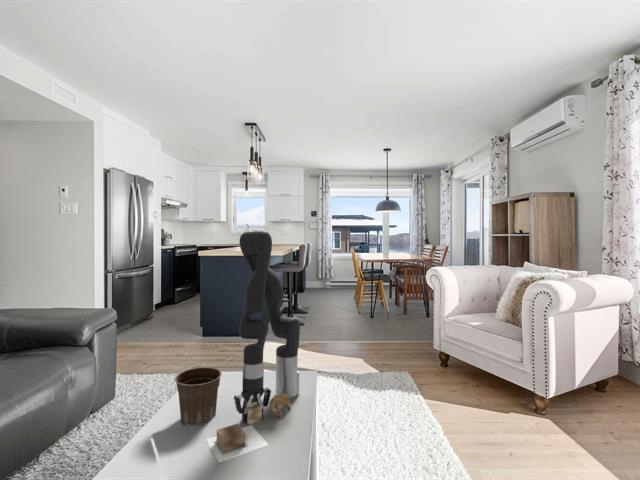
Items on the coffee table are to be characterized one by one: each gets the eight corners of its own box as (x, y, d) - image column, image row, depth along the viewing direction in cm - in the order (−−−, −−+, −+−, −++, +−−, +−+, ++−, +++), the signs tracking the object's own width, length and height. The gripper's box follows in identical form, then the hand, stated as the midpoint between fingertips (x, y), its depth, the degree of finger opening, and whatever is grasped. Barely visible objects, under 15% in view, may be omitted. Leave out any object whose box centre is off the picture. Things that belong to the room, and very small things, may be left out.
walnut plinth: (237, 435, 115) (237, 423, 115) (245, 446, 109) (245, 433, 109) (216, 442, 111) (216, 429, 111) (223, 453, 105) (223, 440, 105)
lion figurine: (279, 425, 123) (280, 400, 123) (266, 423, 124) (266, 398, 124) (292, 406, 137) (293, 384, 137) (280, 405, 139) (280, 382, 139)
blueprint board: (251, 427, 121) (251, 424, 121) (268, 448, 110) (268, 444, 110) (205, 442, 112) (205, 439, 112) (219, 465, 101) (219, 462, 101)
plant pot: (206, 433, 118) (207, 386, 118) (164, 427, 121) (165, 382, 121) (228, 410, 134) (229, 369, 134) (191, 406, 137) (191, 365, 137)
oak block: (256, 417, 129) (256, 401, 129) (261, 423, 125) (261, 406, 125) (243, 421, 126) (243, 404, 126) (248, 427, 122) (248, 410, 122)
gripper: (266, 367, 133) (266, 411, 132) (230, 374, 125) (229, 421, 124) (275, 373, 126) (274, 419, 126) (238, 381, 118) (237, 431, 118)
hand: (252, 420), depth 125 cm, fingers closed on oak block, 5 cm apart
